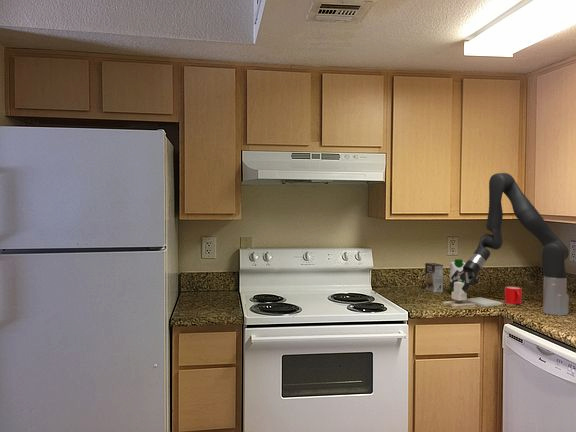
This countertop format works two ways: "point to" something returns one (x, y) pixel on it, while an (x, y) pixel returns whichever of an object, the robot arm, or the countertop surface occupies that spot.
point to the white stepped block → (459, 292)
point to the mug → (513, 295)
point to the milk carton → (453, 267)
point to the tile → (483, 301)
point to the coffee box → (434, 277)
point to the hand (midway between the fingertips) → (456, 288)
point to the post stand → (459, 304)
